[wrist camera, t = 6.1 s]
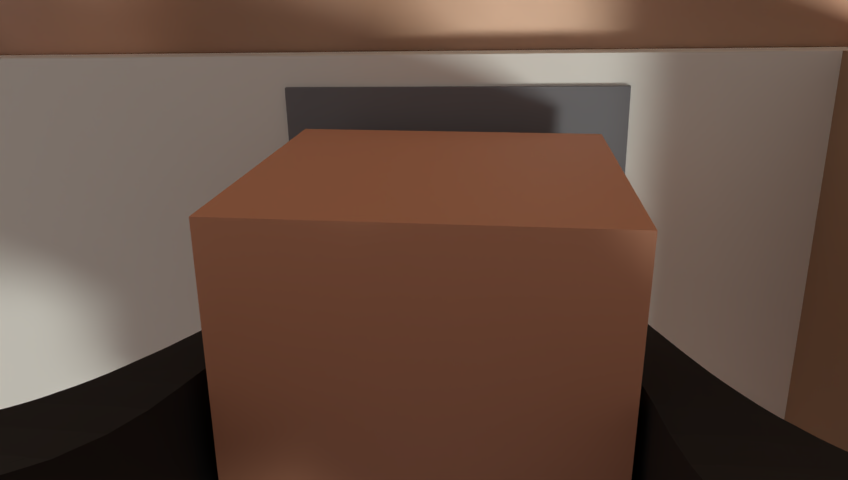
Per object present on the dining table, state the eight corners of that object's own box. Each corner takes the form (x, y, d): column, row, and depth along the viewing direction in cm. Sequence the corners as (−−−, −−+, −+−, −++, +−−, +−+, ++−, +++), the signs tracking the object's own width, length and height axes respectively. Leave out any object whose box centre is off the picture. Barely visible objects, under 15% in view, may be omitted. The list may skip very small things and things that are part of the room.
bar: (305, 128, 12) (189, 216, 7) (601, 134, 11) (657, 231, 7) (326, 502, 14) (246, 731, 10) (572, 519, 13) (601, 768, 9)
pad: (600, 510, 14) (601, 513, 14) (319, 493, 15) (317, 496, 15) (630, 85, 12) (630, 85, 12) (286, 87, 12) (284, 88, 12)
